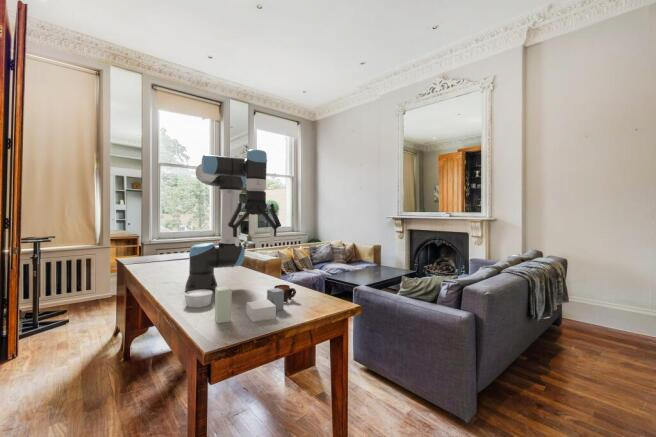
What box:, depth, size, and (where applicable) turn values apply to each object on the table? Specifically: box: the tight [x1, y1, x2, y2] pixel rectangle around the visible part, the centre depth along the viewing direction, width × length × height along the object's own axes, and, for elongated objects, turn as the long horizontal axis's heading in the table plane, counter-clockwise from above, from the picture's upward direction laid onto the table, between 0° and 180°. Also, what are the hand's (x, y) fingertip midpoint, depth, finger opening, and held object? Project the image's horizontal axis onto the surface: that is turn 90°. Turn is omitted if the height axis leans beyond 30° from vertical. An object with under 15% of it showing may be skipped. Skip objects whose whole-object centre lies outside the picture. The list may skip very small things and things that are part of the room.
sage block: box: [214, 285, 233, 324], centre depth 113 cm, size 5×5×12 cm
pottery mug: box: [273, 284, 297, 303], centre depth 140 cm, size 12×10×8 cm
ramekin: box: [184, 289, 214, 309], centre depth 130 cm, size 11×11×5 cm
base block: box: [245, 299, 277, 323], centre depth 118 cm, size 9×9×5 cm
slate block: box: [266, 288, 285, 312], centre depth 127 cm, size 5×5×8 cm
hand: (254, 245), depth 117 cm, fingers open, 13 cm apart
